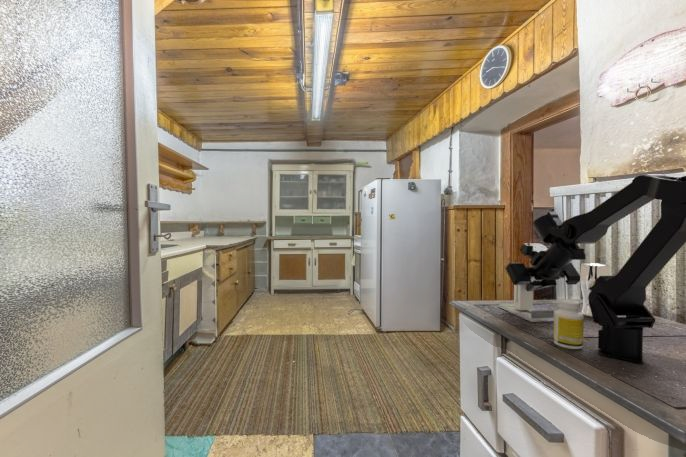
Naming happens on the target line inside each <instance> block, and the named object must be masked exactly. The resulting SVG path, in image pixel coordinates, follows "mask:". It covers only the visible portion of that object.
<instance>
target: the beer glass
mask: <svg viewBox="0 0 686 457" xmlns="http://www.w3.org/2000/svg"><path fill="white" fill-rule="evenodd" d="M610 270H611V269H610V265H609V264H603V263H593V262H591V263H590V262H582V263H581V267H580V273H579V275H580V281H579V282H580V289H581V294H582V302H583V303H582V308H581V313H582V314H583V316H587V317H591V318H593V316H592V313H591V309H590V305H589V299H588V296H589V293H590V292H591V290H590V289H589V288H590V287H592V286H593V285H594V284H595V282H596V280H597V278H598V277H599V276H611V271H610Z"/></svg>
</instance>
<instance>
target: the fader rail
mask: <svg viewBox="0 0 686 457" xmlns="http://www.w3.org/2000/svg"><path fill="white" fill-rule="evenodd" d="M498 308H500V309H502V310H505V311H506V312H508V313H511V314H513V315H515V316H518V317H520V318H522V319H524V320H527V321H528V322H530V323H541V322H543V323H545V322H554V312H555V310H553V309H535V308H533V310H518V309H516V308H514V303H498Z"/></svg>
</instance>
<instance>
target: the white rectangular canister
mask: <svg viewBox="0 0 686 457" xmlns="http://www.w3.org/2000/svg"><path fill="white" fill-rule="evenodd" d="M526 285H527V284H526ZM526 285H515V284H513V304H514V308H516V309H518V310H533V309H534V291H527V290H526Z"/></svg>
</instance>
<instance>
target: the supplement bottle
mask: <svg viewBox="0 0 686 457" xmlns="http://www.w3.org/2000/svg"><path fill="white" fill-rule="evenodd" d="M557 307H558V308H557V309H555V310H554V321H553V343H554V344H555V345H556V346H558V347H561V348H564V349H569V350H581V349H583V346H584V321H585V320H584V319H585V318H584V315H583V314H582V313H581V312H582V311H581V312H580V311H579V310H580V309H581V303H580V301H577V300H573V299H572V300H571V299H565V298H564V299H558V300H557Z"/></svg>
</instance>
